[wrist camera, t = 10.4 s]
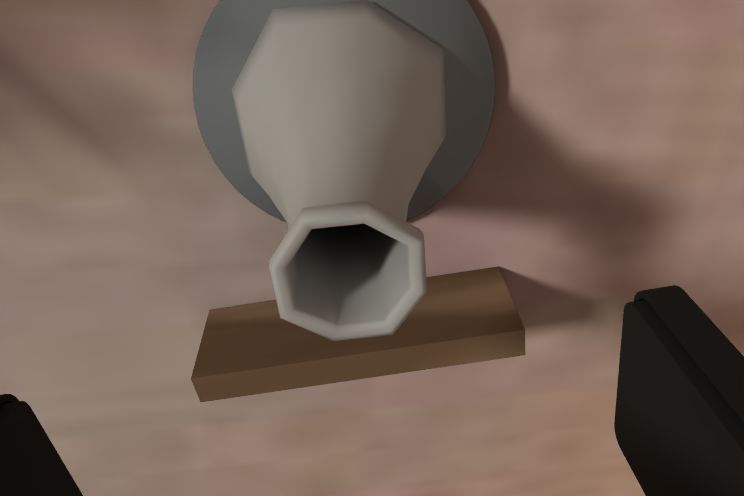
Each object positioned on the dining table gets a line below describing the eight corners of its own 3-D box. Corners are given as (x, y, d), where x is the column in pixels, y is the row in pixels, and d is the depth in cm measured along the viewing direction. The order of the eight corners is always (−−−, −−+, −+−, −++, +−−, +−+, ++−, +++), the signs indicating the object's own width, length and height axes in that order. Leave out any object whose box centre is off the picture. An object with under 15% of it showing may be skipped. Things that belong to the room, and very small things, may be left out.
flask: (478, 25, 19) (591, 149, 11) (416, 221, 23) (466, 428, 15) (247, -31, 18) (175, 60, 10) (221, 185, 22) (151, 389, 13)
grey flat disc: (496, 204, 24) (500, 212, 23) (239, 243, 24) (237, 251, 23) (484, -90, 18) (489, -89, 18) (154, -36, 19) (149, -33, 18)
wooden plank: (499, 290, 26) (524, 354, 22) (217, 332, 26) (200, 402, 23) (498, 266, 25) (524, 329, 22) (209, 310, 25) (191, 378, 22)
